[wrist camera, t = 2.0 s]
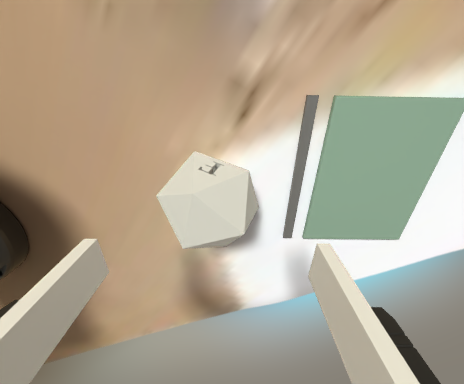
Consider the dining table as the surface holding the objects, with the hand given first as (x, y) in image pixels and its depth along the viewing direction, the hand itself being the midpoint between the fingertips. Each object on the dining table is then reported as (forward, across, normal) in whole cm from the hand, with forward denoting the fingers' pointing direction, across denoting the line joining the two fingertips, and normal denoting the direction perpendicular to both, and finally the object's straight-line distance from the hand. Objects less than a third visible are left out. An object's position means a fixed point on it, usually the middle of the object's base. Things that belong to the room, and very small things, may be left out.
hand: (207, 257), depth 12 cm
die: (+11, -1, 0) cm, 11 cm away
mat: (+11, +16, +1) cm, 20 cm away
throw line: (+11, +8, +1) cm, 14 cm away
